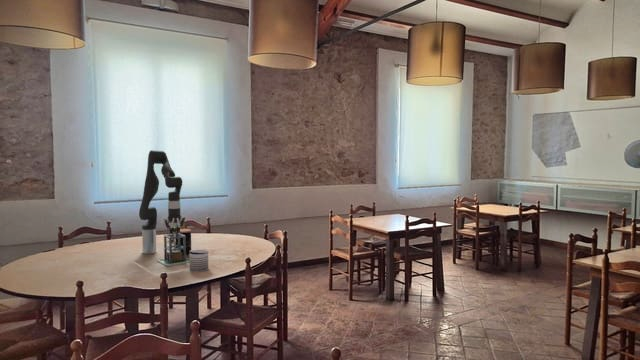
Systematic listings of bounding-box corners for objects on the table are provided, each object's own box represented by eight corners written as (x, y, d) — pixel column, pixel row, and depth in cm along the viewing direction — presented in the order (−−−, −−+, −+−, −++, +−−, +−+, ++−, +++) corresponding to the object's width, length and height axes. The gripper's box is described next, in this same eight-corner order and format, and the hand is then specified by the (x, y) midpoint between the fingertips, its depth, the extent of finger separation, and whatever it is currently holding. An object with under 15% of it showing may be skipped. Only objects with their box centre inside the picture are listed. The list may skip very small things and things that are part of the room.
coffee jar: (186, 257, 298) (186, 231, 297) (172, 256, 300) (172, 231, 299) (194, 254, 309) (193, 229, 308) (180, 253, 311) (180, 228, 310)
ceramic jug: (170, 238, 363) (169, 202, 361) (188, 237, 365) (188, 202, 363) (165, 242, 346) (164, 205, 344) (184, 242, 348) (184, 205, 346)
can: (185, 269, 269) (185, 250, 268) (201, 265, 278) (201, 247, 277) (196, 273, 262) (196, 253, 261) (212, 269, 271) (212, 250, 270)
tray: (157, 262, 285) (157, 259, 285) (183, 258, 297) (183, 255, 296) (165, 267, 273) (165, 264, 273) (193, 263, 284) (193, 260, 284)
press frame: (163, 260, 285) (163, 235, 284) (180, 258, 292) (179, 233, 291) (169, 264, 277) (169, 237, 276) (186, 261, 284) (186, 235, 283)
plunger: (168, 251, 285) (167, 227, 284) (178, 250, 289) (177, 225, 288) (171, 253, 279) (171, 228, 278) (182, 252, 284) (181, 227, 283)
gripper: (182, 206, 290) (183, 231, 291) (161, 207, 281) (161, 233, 282) (187, 207, 284) (187, 233, 285) (165, 208, 275) (165, 235, 276)
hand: (174, 233), depth 283 cm, fingers open, 3 cm apart
